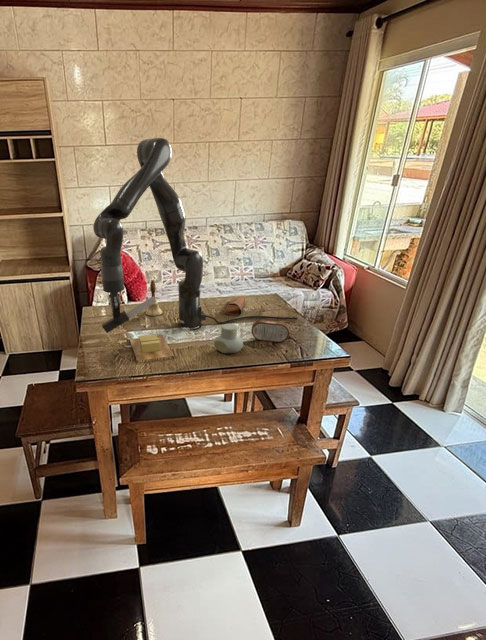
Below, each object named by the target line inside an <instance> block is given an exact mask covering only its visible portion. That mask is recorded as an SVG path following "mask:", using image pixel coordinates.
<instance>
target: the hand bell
mask: <svg viewBox="0 0 486 640" xmlns="http://www.w3.org/2000/svg"><path fill="white" fill-rule="evenodd" d="M149 289H150V290H149V291H150V293H151V297H153V296H154V298H155V299H156V289H157V286H156V282H155V280H154V279H151V281H150V284H149ZM163 313H164V311H163V310H162V309H161V308H160V305H159V301H157V302H155V303H154V304H152V305H151V306H149V307H147V309H146V311H145V315H147V316H150V317H156V316H157V317H158V316H161V315H163Z"/></svg>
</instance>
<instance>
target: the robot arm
mask: <svg viewBox="0 0 486 640" xmlns="http://www.w3.org/2000/svg"><path fill="white" fill-rule="evenodd" d="M172 156H173V149H172V145H171V143H170V142H169V140H168V139H166V138H163V137H154V138H147V139H142V140H141V141H140V142H139V143H138V144H137V148H136V157H137V161H138V164H139V166H140V169H139V170H138V171H136V173H135V174H134V175H133V176H131V177H130V178H129V179H128V180H127V181H125V183H124V184H122V186H121V187H120V188H119V190H118V191H117V193H116V195H115V196H114V198H113V199H112V201H111V202H110V203H109V204H108V205H107V206H106V207H105V208H104V209H103V210H102V211H101V212H100V213H99V214H98V215H97V217H96V218H95V219H94V222H93V228H92V229H93V233H94V234H95V236H96V237H97V238H100V239H104V240H106V241H105V242H106V244H105V245H104V246H102V247H101V248H100V252H99V255H100V266H101V268H100V269H101V270H100V271H101V281H102V290H103V292H104V293H107V294H108V300H109V305H110V309H111V313H112V318H114V324H115V325H118V324H120V313H121V300H122V299H121V294H120V293H121V292H123V291H124V290H125V282H124V281H125V280H124V279H125V278H124V270H123V263H122V254H121V252H122V247H123V241H124V240H123V239H124V232H125V231H124V226H123V223H122V221H121V220H124V219H127V218H128V217H129V216H130V215H131V213H132V212H133V210H134V208H135V207H136V205H137V204H138V202H139V200H140V199H141V197H142V196H143V195H144V193H145V192H146V191H147V189H150V191H151V195H152V197H153V200H154V202H155V205H156V208H157V211H158V214H159V217H160V220H161V223H162V225H163V228H164V231H165V234H166V237H167V241H168V243H169V247H170V251H171V256H172V260H173V263H174V264H173V265H174V266H175V268H176V269H177V270H178V271H181V272H184V279H181V280H179V281H178V284H177V285H178V287H177V288H178V325H179V326H180V327H182V328H186V329H189V330H190V331H193V330H197V329H199V328H200V329H201V328H202V322H203V321H207V318H208V319H212V320H214V322H215V323H217V324H221V325H224V324H228V323H229V322H235V321H238V320H243V319H255V318H257V319H258V318H259V319H262V318H263V319H277V320H298V317H297V316H272V315H271V316H270V315H249V316H248V315H247V316H246V315H245V316H240V317H235V318H231V319H228V320H225V321H219V320H217V318H215V317H214V316H210V315H207V314H206V313H205V312H204V311H202V306H201V285H202V282H203V273H204V258H203V257H204V256H203V255H202V253H201V252H200V251H198V250H195V249H191V248H189V247H188V245H187V242H186V238H185V234H184V233H185V227H186V212H185V209H184V206H183V202H182V199H181V198H180V196H179V195H178V193H177V192H176V190H174V188H173V187H172V186H171V184H170V183H169V182H168V181H167V179H166V177H165V175H164V173H163V171H164V170H165V169H166V167H167V166H168V165H169V164H170V163H171V160H172Z"/></svg>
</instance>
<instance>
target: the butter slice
mask: <svg viewBox="0 0 486 640" xmlns="http://www.w3.org/2000/svg"><path fill="white" fill-rule="evenodd" d="M141 349H142V353H145V352H153V351H160V342H159V340H158V341H150V342H141Z"/></svg>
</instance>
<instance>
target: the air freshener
mask: <svg viewBox="0 0 486 640" xmlns="http://www.w3.org/2000/svg"><path fill="white" fill-rule="evenodd" d="M220 331H221V333H220V335H218V336H217V337H216V338H215V339H214V347H215V349H216V350H217V351H219V352H221V353H222V354H235V353H238V352H240V351H241V350H242V348H243V346H244V340H243V339H242V337H240V336H239V335H238V326H237V325H236V324H234V323H224V324H222V325H221V330H220Z"/></svg>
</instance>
